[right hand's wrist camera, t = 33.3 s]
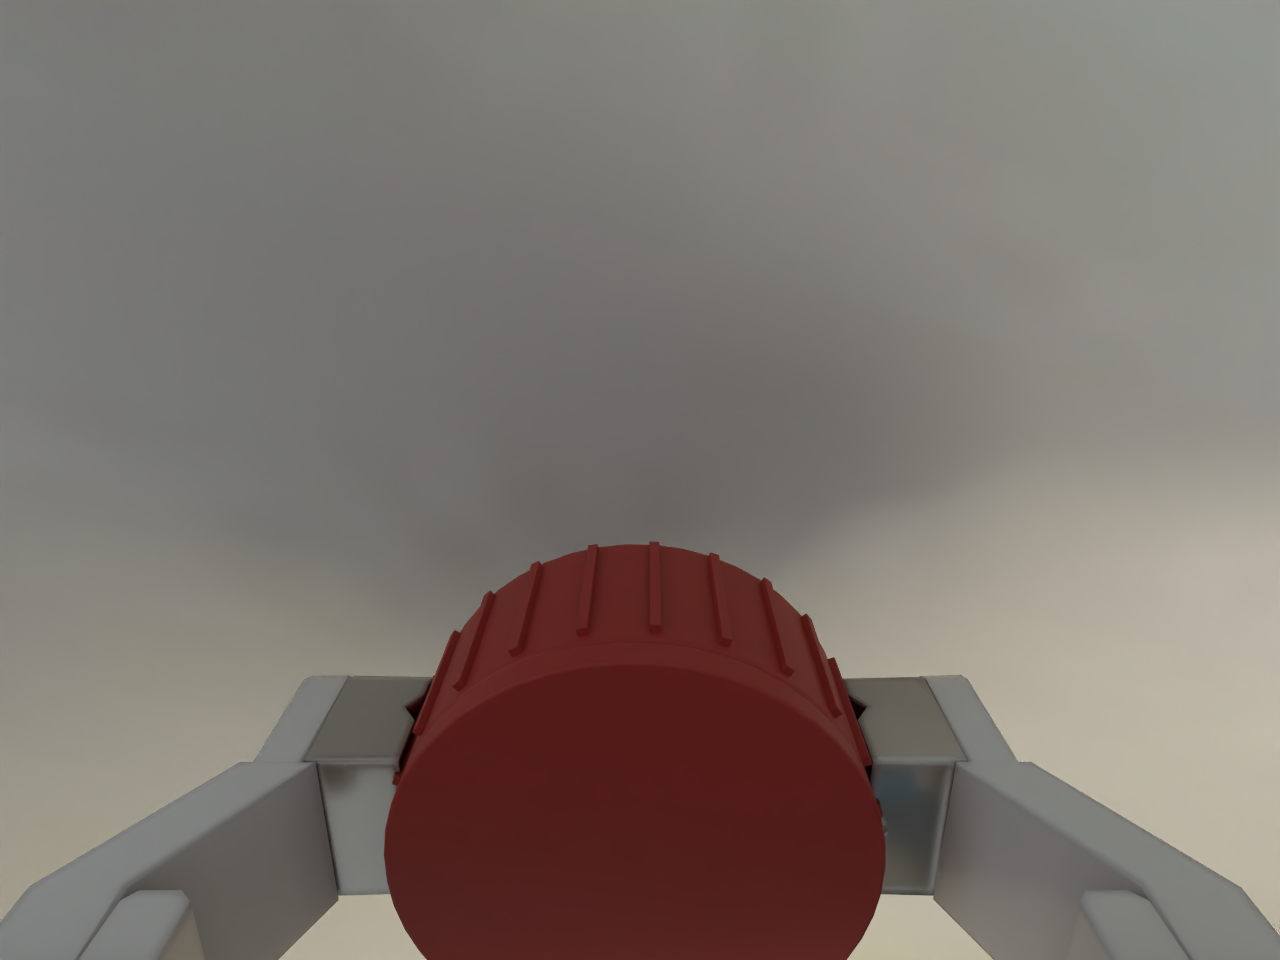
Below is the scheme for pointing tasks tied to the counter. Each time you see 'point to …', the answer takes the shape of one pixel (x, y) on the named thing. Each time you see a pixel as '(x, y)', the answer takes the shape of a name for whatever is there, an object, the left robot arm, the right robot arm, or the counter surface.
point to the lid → (635, 774)
